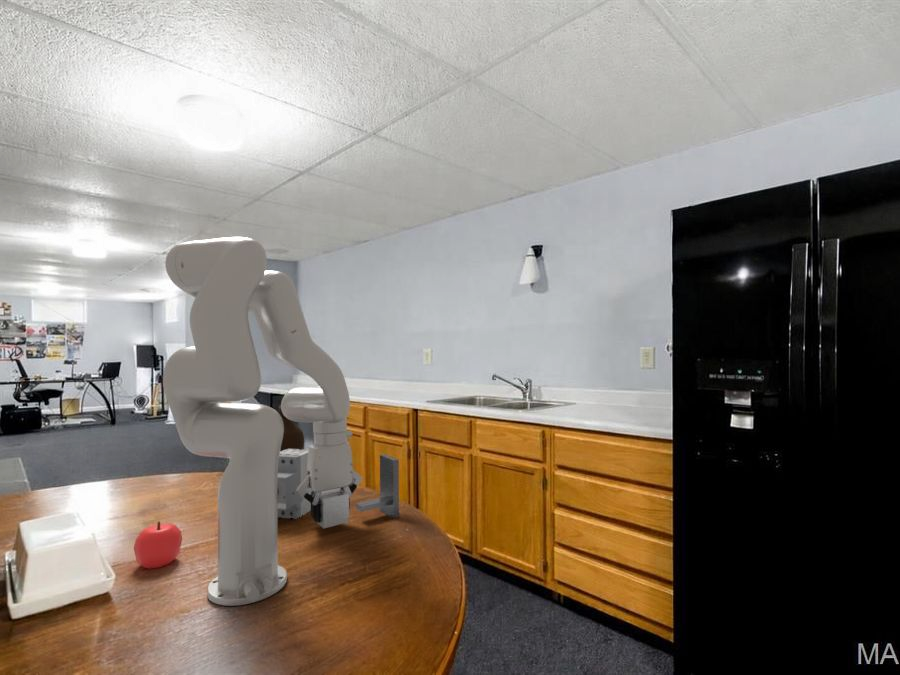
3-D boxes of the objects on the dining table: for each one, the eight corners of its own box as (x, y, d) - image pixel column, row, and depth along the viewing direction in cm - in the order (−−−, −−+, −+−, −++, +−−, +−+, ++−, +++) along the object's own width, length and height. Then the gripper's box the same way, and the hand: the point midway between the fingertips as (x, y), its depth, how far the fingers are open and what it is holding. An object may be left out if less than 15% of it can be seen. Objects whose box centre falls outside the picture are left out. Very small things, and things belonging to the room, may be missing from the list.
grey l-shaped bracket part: (399, 517, 111) (398, 459, 111) (365, 526, 106) (364, 465, 106) (385, 509, 116) (385, 454, 117) (352, 517, 111) (352, 459, 112)
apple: (134, 560, 89) (134, 519, 89) (181, 550, 94) (181, 511, 94) (132, 577, 83) (133, 533, 83) (183, 565, 87) (183, 523, 87)
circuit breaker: (253, 526, 106) (253, 461, 106) (288, 505, 120) (288, 448, 120) (281, 529, 104) (281, 463, 105) (314, 507, 118) (314, 449, 118)
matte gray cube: (349, 521, 103) (348, 493, 104) (323, 528, 100) (323, 499, 100) (337, 512, 109) (336, 485, 109) (312, 518, 106) (312, 490, 106)
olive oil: (305, 497, 127) (305, 407, 127) (264, 502, 123) (264, 409, 123) (302, 486, 136) (302, 402, 137) (264, 491, 132) (264, 404, 133)
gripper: (358, 431, 113) (358, 504, 113) (287, 441, 103) (287, 521, 102) (371, 436, 107) (372, 513, 107) (297, 446, 97) (298, 532, 96)
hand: (330, 516), depth 104 cm, fingers closed on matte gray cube, 6 cm apart
